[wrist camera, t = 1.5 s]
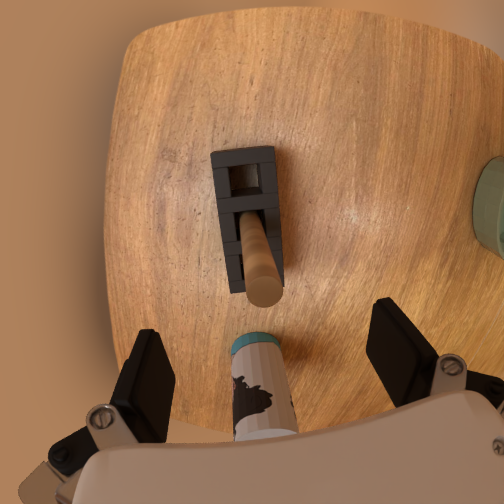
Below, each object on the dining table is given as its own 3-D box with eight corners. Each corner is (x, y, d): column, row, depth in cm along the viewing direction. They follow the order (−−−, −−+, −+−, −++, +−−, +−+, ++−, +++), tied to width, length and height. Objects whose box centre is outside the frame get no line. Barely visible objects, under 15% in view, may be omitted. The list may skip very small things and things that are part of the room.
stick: (237, 206, 29) (244, 278, 15) (256, 203, 29) (282, 273, 15) (239, 224, 30) (248, 310, 15) (258, 221, 30) (284, 305, 15)
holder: (213, 151, 27) (210, 153, 23) (268, 145, 27) (274, 146, 23) (230, 275, 32) (230, 293, 29) (278, 269, 33) (284, 287, 29)
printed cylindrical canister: (221, 347, 36) (220, 442, 23) (262, 323, 35) (278, 420, 22) (249, 373, 39) (258, 461, 25) (289, 352, 38) (311, 442, 24)
